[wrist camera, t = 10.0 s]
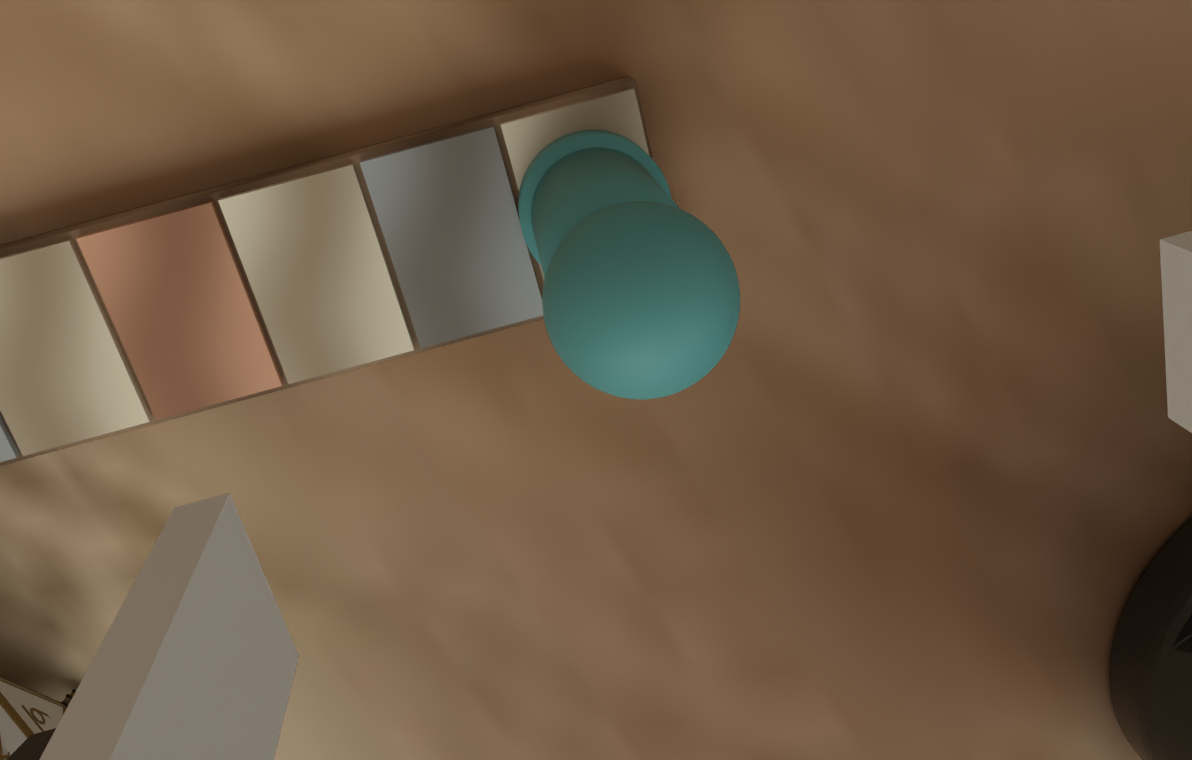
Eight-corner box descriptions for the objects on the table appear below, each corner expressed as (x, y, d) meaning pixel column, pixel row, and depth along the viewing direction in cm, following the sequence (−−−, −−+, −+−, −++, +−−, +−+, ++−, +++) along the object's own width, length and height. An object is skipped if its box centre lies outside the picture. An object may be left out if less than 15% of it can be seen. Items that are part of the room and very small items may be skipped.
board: (629, 76, 31) (636, 80, 30) (674, 272, 33) (681, 284, 32) (-190, 296, 31) (-217, 309, 29) (-90, 479, 33) (-111, 499, 32)
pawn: (646, 112, 30) (744, 193, 19) (679, 255, 32) (785, 402, 21) (500, 151, 30) (517, 254, 19) (539, 292, 32) (575, 459, 21)
